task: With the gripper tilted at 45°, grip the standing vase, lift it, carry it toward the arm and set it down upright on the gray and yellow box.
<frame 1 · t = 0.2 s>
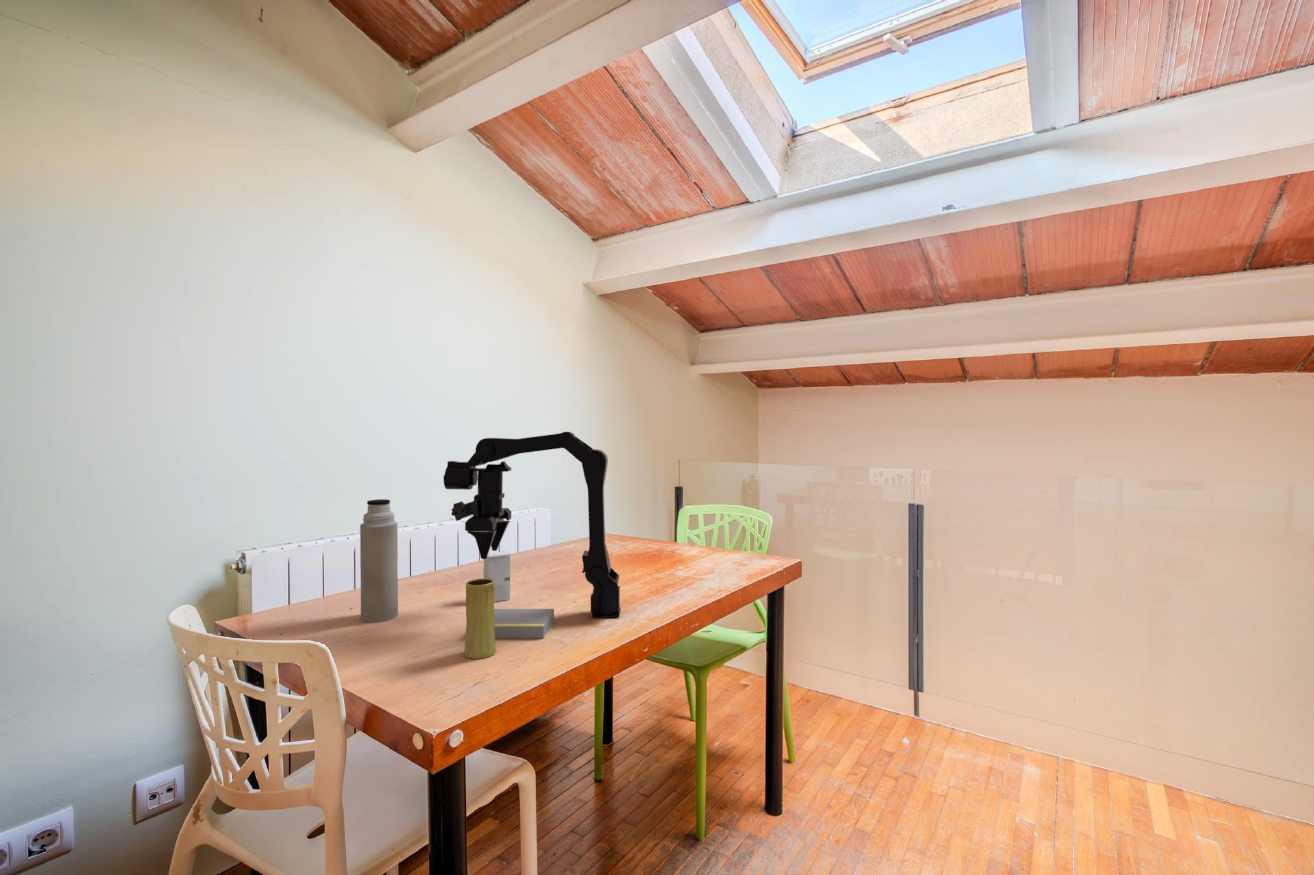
hand: (489, 554, 135), 15 cm above the table, tool pointing down, fingers open, 9 cm apart
thermos bottle: (379, 617, 134), on the table
gray and yellow box: (513, 628, 126), on the table
vase: (480, 654, 112), on the table
skincare box: (497, 600, 148), on the table
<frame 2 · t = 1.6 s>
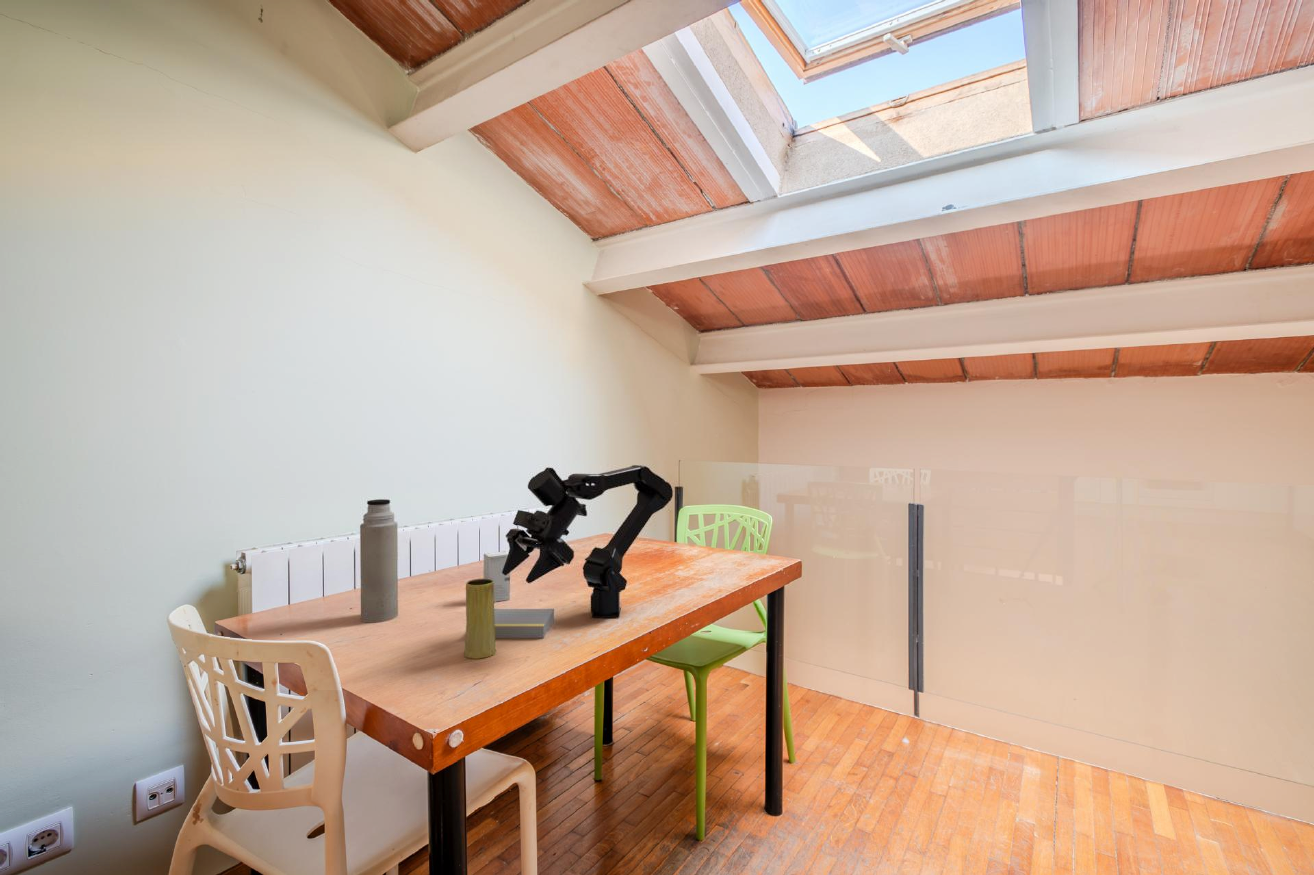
hand: (515, 578, 118), 13 cm above the table, tool tilted 45°, fingers open, 9 cm apart
nothing on the table moved.
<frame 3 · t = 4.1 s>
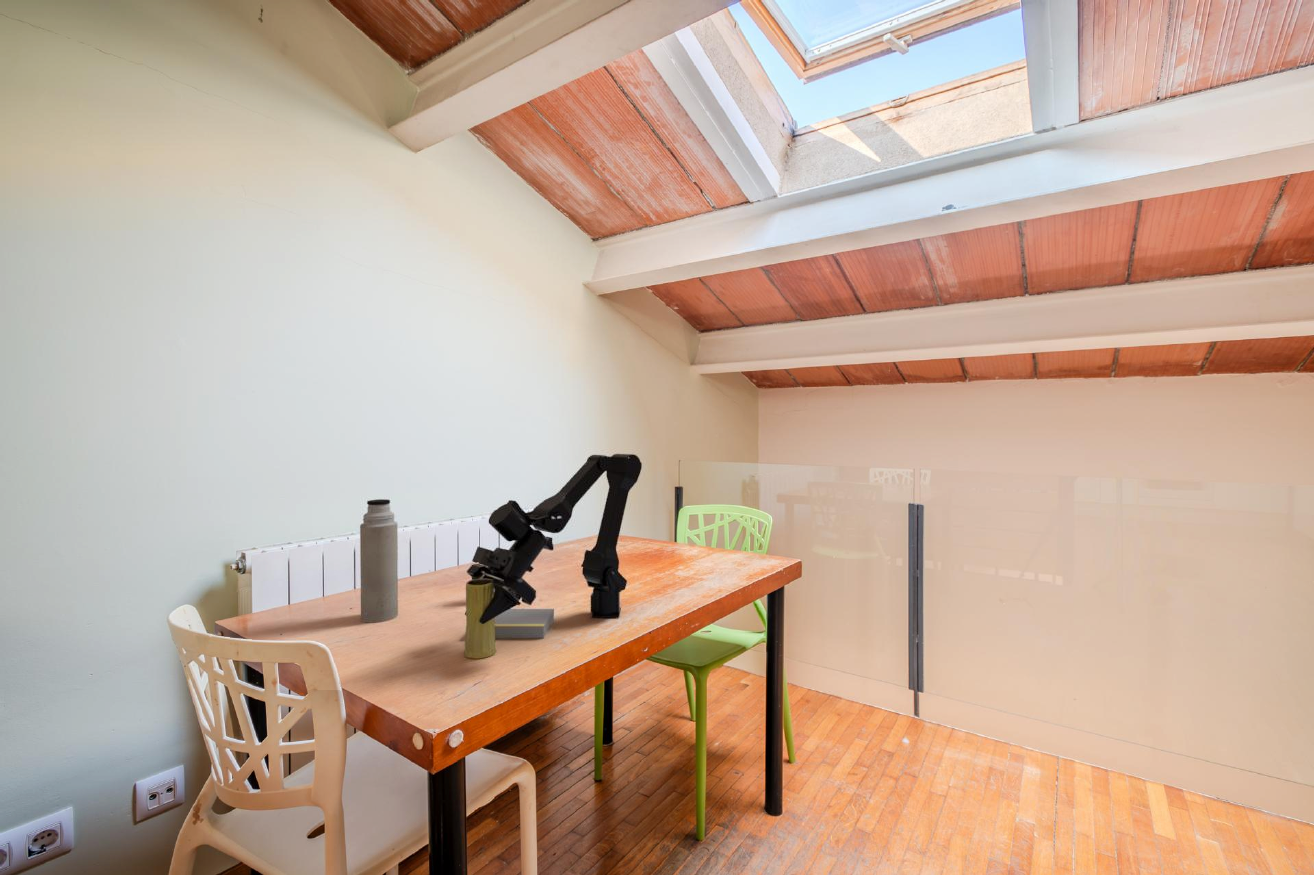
hand: (473, 619, 111), 7 cm above the table, tool tilted 45°, fingers closed on vase, 5 cm apart
vase: (480, 654, 112), on the table, touching gripper
everything else where it was.
when the fingers open (10 cm above the table, at t = 7.8 s): vase stays where it is, resting on gray and yellow box.
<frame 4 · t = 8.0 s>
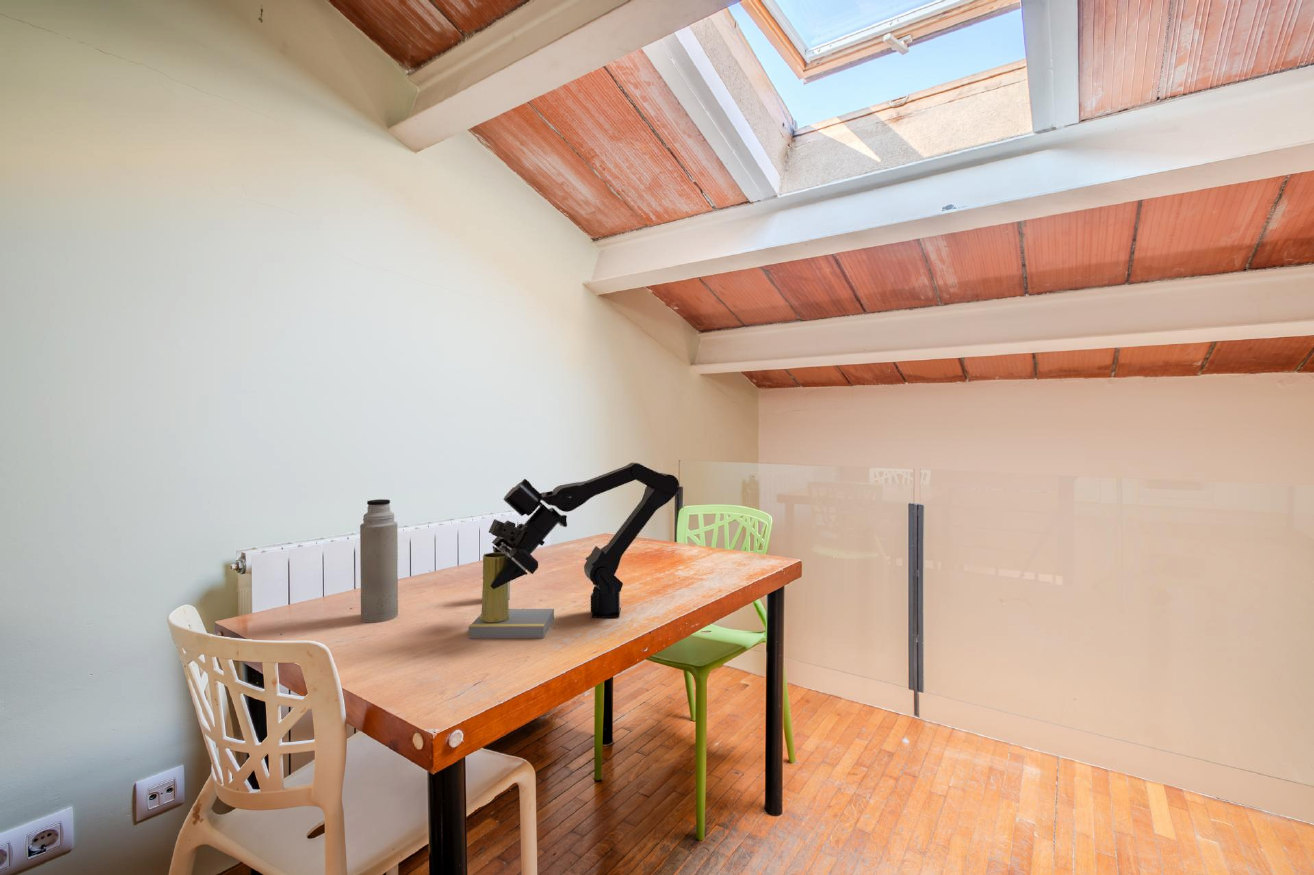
hand: (487, 583, 124), 11 cm above the table, tool tilted 45°, fingers open, 7 cm apart
vase: (495, 619, 125), point 2 cm above the table, touching gray and yellow box
everything else where it was.
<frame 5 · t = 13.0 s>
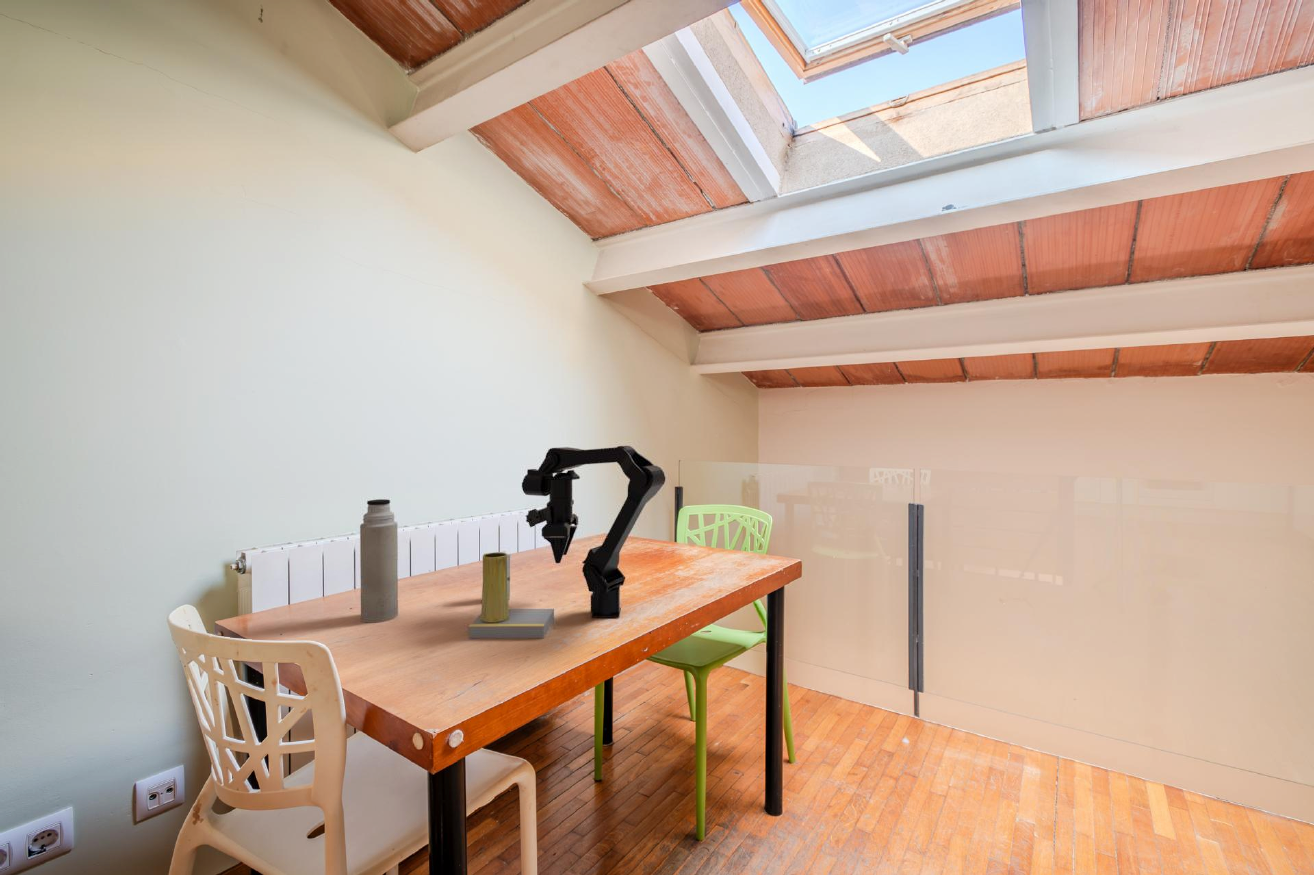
hand: (561, 558, 142), 12 cm above the table, tool pointing down, fingers open, 9 cm apart
nothing on the table moved.
at the end: vase inside the target area on the gray and yellow box (3.1 cm from its centre), point 2.3 cm above the gray and yellow box's base; vase tilted 0°; the gripper is holding nothing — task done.
